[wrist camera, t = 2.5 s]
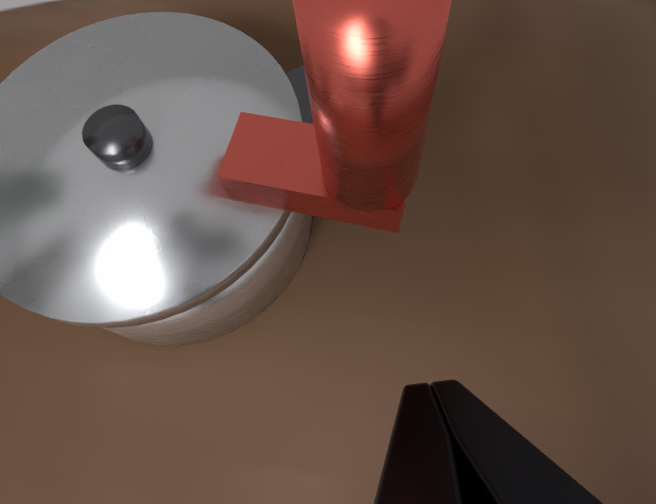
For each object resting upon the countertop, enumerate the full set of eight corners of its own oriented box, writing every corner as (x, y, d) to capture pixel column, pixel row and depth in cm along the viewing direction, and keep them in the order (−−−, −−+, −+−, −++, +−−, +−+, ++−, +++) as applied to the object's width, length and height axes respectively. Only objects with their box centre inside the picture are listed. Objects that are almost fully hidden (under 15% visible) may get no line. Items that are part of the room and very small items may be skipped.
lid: (-95, 281, 15) (-551, 131, 8) (60, 11, 19) (-143, -269, 12) (370, 401, 13) (374, 355, 5) (441, 65, 17) (503, -242, 9)
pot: (56, 416, 18) (-37, 410, 14) (0, 189, 22) (-85, 132, 18) (421, 239, 20) (436, 186, 15) (309, 55, 24) (296, -27, 19)
